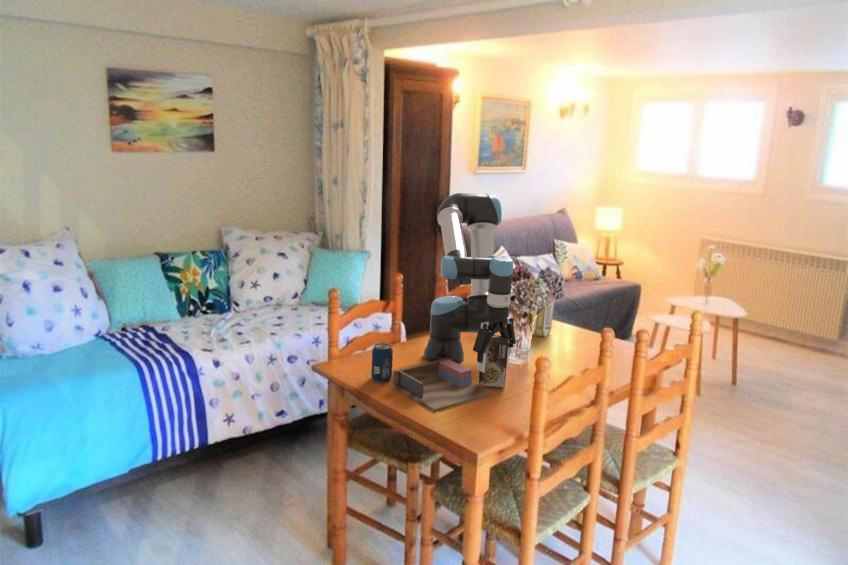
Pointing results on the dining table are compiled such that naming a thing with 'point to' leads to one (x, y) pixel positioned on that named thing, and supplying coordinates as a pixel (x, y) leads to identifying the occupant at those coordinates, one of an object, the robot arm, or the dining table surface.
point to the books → (455, 373)
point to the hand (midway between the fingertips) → (492, 367)
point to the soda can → (382, 362)
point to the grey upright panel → (410, 384)
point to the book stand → (438, 388)
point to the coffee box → (495, 362)
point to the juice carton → (544, 321)
